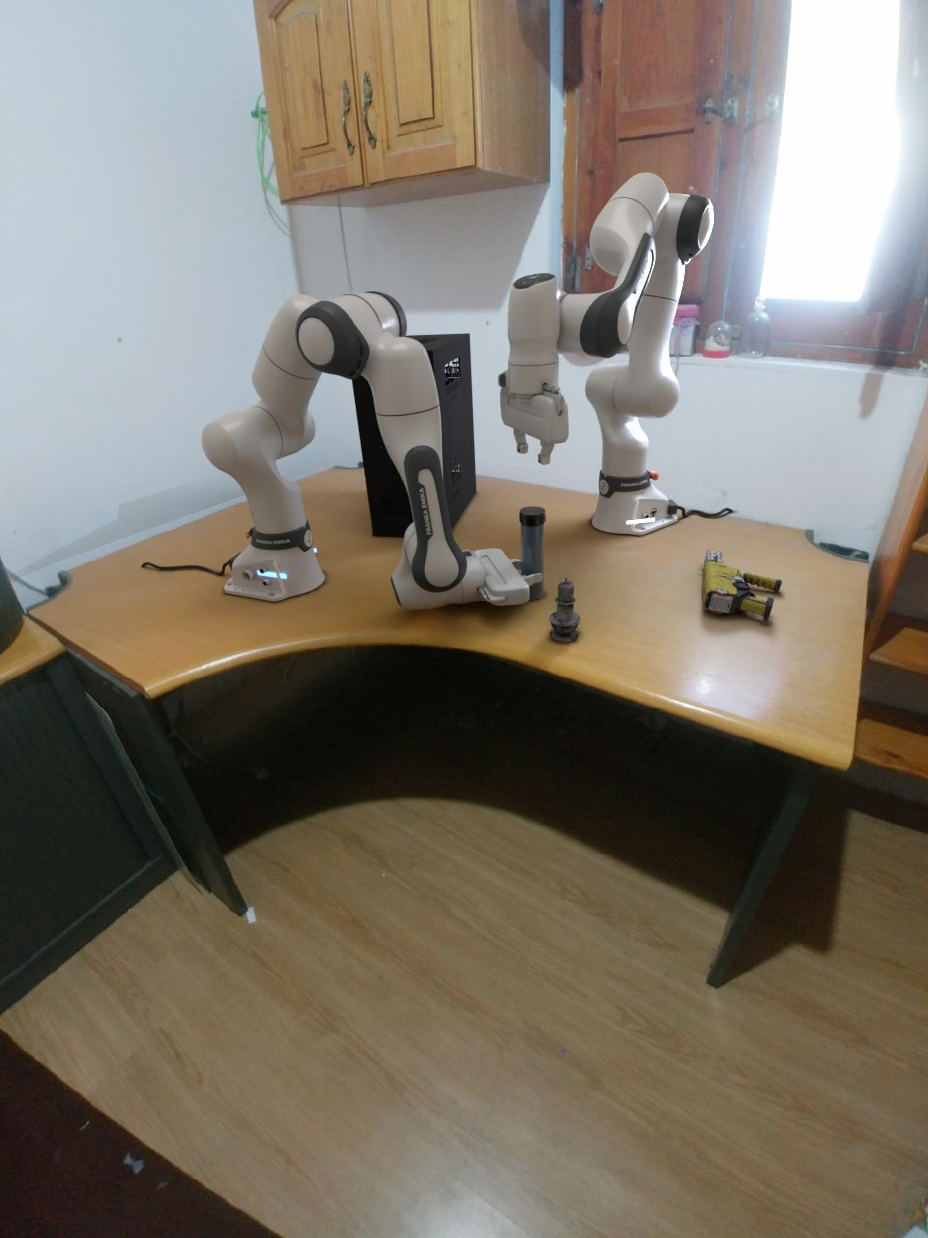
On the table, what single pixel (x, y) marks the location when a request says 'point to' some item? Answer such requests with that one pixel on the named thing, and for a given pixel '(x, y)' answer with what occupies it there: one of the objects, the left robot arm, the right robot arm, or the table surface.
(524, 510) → the lid
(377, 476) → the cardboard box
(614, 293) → the right robot arm
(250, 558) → the left robot arm
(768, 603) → the toy gun
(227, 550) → the table surface
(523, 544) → the grey cylindrical piece
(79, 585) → the table surface
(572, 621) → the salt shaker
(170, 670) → the table surface
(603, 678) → the table surface
